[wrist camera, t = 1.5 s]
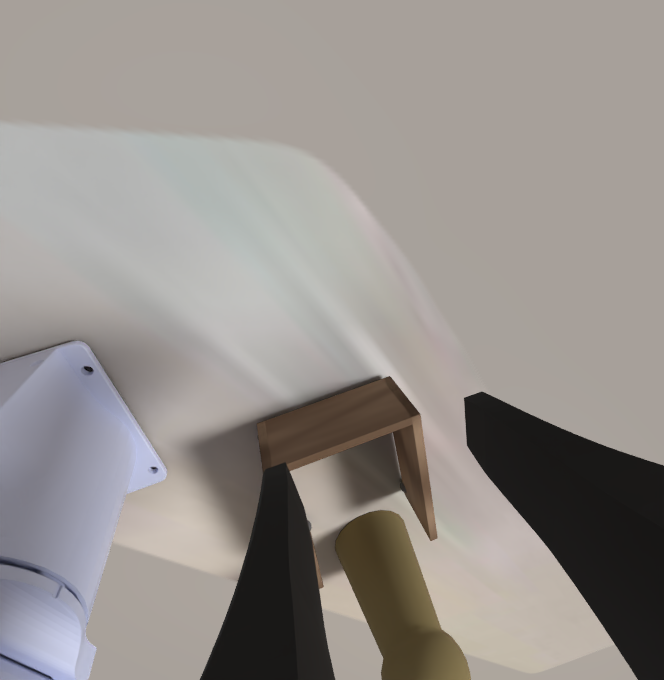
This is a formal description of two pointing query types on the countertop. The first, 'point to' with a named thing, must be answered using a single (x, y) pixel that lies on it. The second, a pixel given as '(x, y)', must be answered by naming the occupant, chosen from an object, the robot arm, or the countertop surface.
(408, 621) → the cork
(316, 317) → the countertop surface
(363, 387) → the wooden bracket shelf
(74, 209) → the countertop surface
